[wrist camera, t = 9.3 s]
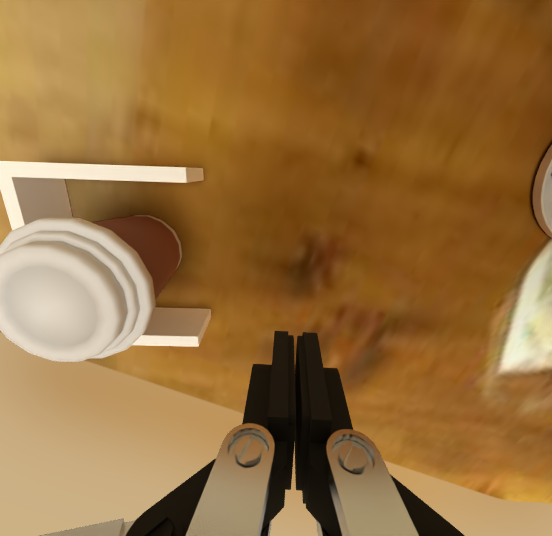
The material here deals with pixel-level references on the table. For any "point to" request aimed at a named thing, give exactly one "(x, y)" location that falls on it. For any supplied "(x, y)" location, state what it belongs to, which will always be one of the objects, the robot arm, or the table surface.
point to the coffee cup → (83, 283)
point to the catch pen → (55, 203)
